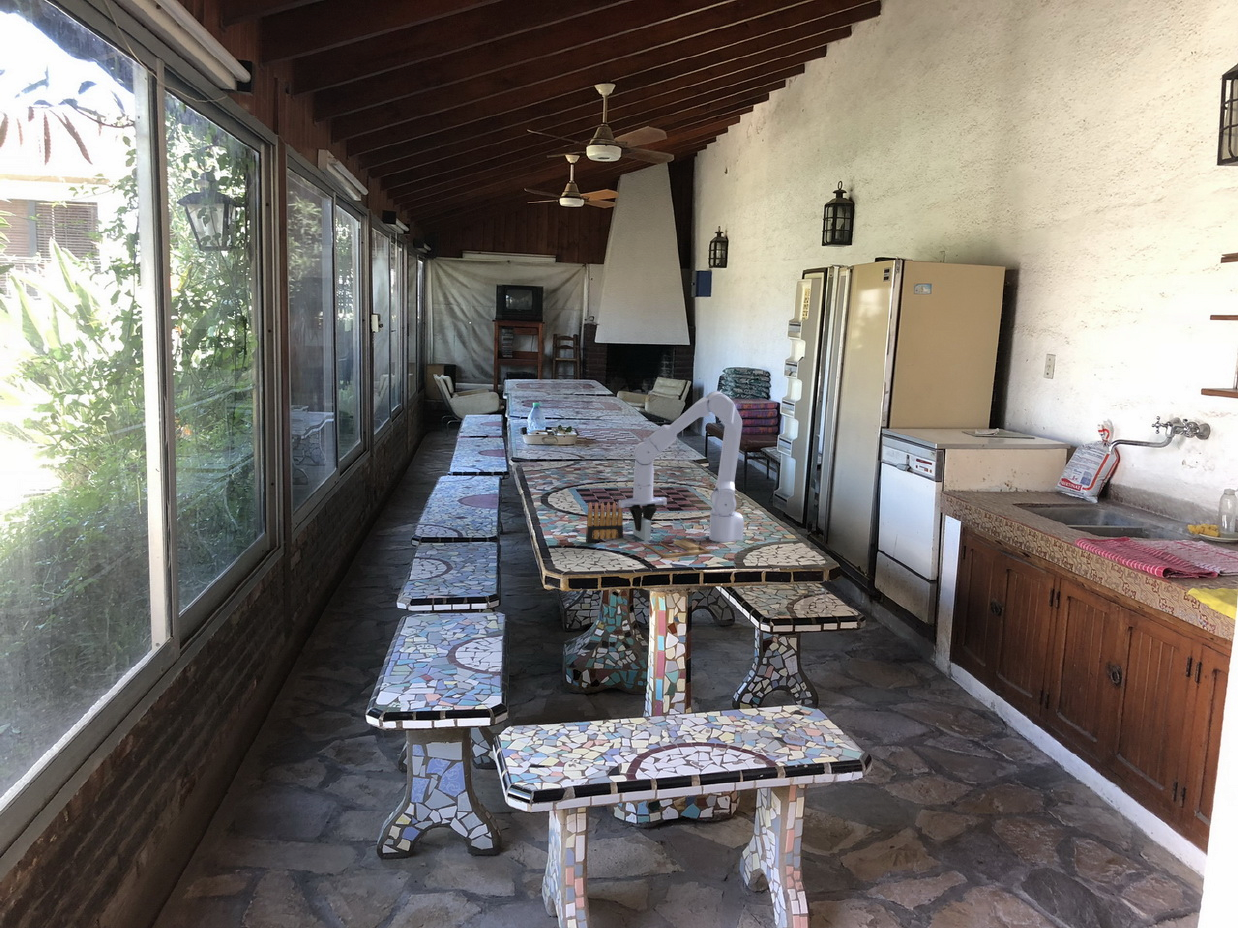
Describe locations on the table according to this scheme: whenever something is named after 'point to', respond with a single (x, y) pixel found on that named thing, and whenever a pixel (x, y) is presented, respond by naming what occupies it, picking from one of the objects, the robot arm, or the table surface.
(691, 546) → the offcut oak
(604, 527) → the ammunition clip
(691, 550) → the offcut birch
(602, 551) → the table surface
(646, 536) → the block
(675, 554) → the rack
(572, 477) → the table surface
